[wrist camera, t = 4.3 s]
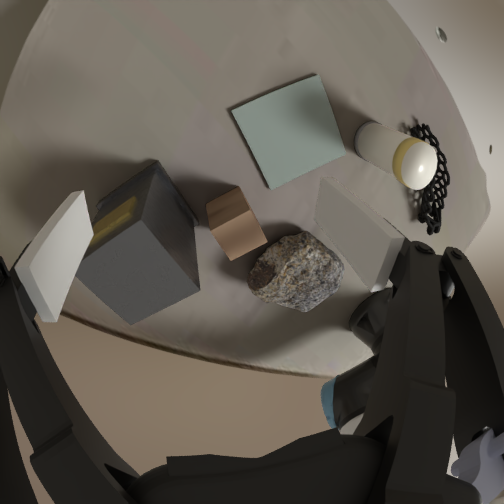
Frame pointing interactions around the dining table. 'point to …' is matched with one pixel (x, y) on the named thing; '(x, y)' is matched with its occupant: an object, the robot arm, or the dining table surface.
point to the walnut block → (234, 224)
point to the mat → (291, 130)
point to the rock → (296, 272)
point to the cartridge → (397, 154)
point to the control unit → (142, 247)
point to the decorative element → (432, 185)
